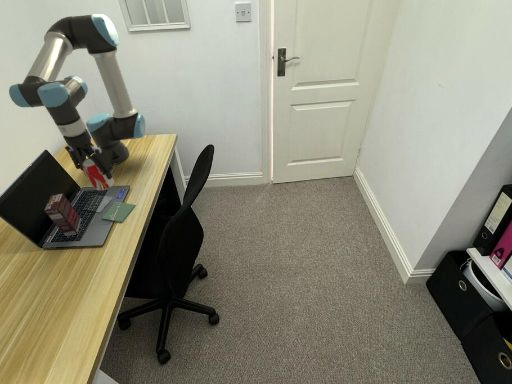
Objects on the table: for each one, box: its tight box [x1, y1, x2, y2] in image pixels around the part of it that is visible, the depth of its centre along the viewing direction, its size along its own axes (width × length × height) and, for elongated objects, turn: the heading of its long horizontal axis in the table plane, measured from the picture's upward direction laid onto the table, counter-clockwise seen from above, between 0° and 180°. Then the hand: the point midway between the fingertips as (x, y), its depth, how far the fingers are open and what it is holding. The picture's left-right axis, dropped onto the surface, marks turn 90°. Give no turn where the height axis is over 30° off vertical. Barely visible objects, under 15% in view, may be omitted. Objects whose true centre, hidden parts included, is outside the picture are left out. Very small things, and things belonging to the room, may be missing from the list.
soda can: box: [82, 157, 110, 191], centre depth 106 cm, size 7×7×12 cm
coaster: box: [101, 202, 136, 223], centre depth 120 cm, size 10×10×1 cm
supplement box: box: [43, 193, 83, 237], centre depth 109 cm, size 9×5×16 cm, turn 13°
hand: (103, 183), depth 109 cm, fingers closed on soda can, 7 cm apart
